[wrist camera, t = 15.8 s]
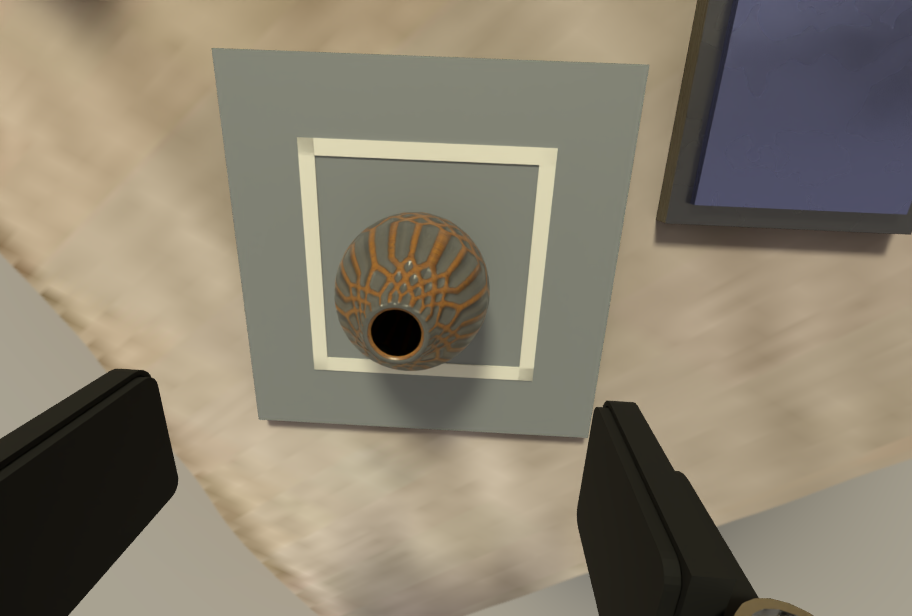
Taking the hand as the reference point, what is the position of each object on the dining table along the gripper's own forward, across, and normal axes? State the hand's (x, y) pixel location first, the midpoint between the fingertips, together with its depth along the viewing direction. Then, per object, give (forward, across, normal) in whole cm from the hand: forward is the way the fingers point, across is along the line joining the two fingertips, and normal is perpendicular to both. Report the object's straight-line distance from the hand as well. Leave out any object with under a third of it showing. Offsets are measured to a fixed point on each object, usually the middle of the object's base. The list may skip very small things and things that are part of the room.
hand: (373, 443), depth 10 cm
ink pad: (+17, -17, -9) cm, 25 cm away
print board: (+16, +1, 0) cm, 16 cm away
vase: (+15, +1, 0) cm, 15 cm away
